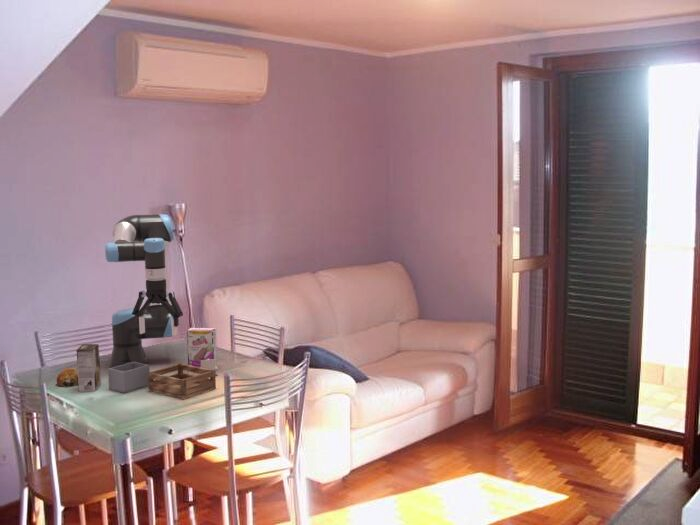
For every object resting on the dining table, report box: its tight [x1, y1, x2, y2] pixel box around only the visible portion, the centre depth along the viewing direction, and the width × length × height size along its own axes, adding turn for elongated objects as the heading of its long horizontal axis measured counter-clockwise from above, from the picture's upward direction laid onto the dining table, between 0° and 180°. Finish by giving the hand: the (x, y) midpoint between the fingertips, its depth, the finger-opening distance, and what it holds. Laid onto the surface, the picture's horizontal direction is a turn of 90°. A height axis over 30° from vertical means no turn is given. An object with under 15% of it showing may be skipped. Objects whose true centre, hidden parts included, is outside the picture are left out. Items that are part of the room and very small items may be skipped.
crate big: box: [147, 362, 217, 400], centre depth 293 cm, size 19×16×7 cm
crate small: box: [107, 362, 151, 394], centre depth 296 cm, size 9×12×8 cm
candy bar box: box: [186, 327, 218, 367], centre depth 322 cm, size 11×5×16 cm, turn 84°
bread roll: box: [56, 367, 79, 387], centre depth 303 cm, size 10×10×8 cm
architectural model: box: [200, 359, 219, 371], centre depth 311 cm, size 3×7×7 cm, turn 110°
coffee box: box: [76, 343, 102, 393], centre depth 295 cm, size 9×6×16 cm
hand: (158, 334), depth 299 cm, fingers open, 13 cm apart
